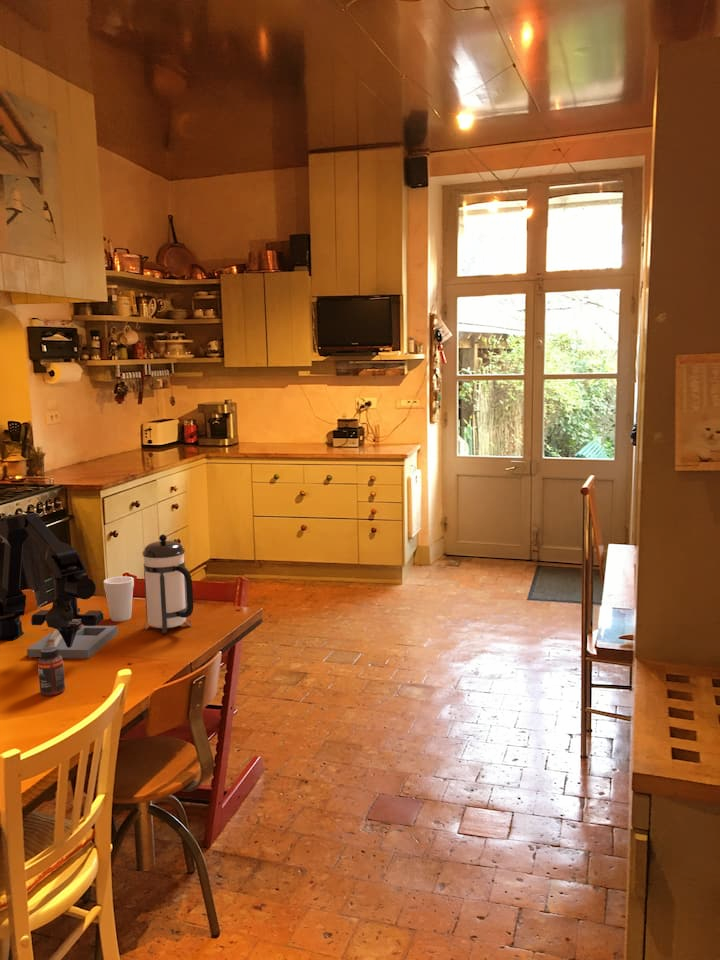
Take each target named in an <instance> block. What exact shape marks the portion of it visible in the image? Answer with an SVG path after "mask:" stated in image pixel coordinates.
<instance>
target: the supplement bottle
mask: <svg viewBox="0 0 720 960" xmlns="http://www.w3.org/2000/svg"><path fill="white" fill-rule="evenodd" d="M64 667H65V666H64V658H62V656H61V655H59V654H58V648H57V647H46V648H43V649H42V650H41V658H38V660H37V670H38V681H39V682H38V684H39V691H40V694H41V695H42V696H46V697H47V696H49V697H51V696H56V695H59V694H61V693H63V692H64V691H65V690H66V682H65V679H66V678H65V668H64Z"/></svg>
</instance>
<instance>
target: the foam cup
mask: <svg viewBox="0 0 720 960" xmlns="http://www.w3.org/2000/svg"><path fill="white" fill-rule="evenodd" d="M134 579H135V578H134V577H132V576H125V575H124V576H121V575H120V576H113V577H109V578H106V579H104V580H103V590H104V591H105V596H106V602H107V607H108V611H109V616H110V620H111V621H112V622H125V621H128V620H130V619H131V618H132V607H133V596H134V593H133V592H134V587H135V580H134Z"/></svg>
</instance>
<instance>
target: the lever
mask: <svg viewBox="0 0 720 960" xmlns="http://www.w3.org/2000/svg"><path fill="white" fill-rule="evenodd" d="M54 630H55V631H54ZM54 630H53V631H54V632H53V634H52V636H51V637H50V639H49V640H48V642H47V647H57V646H58V644H59V642H60V641H61V639H62V636H61V634H60V632H59V631H58V630H57V629H55V628H54Z"/></svg>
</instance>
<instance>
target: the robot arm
mask: <svg viewBox="0 0 720 960" xmlns="http://www.w3.org/2000/svg"><path fill="white" fill-rule="evenodd" d="M0 537H1V539H2V541H3V542H4V548H3V563H2V565H3V566H2V582H1V587H0V641H14V640H16V639H18V638H19V637H20V636H22V635H23V634H25V633H24V631H23V626H22V625H23V623H22V620H21V617H22V616H24V615H25V611H26V606H27V604H26V603H27V601H26V599H27V596H26V594H25V593H24V591H22V589H21V588H20V587H21V574H22V563H23V562H22V559H23V546H24V543H26V541H27V539H29V537H31V539H33V541H34V542H35V543H36V544H37V545H38V546H39V548H40V549H41V550H42V551H43V552H44V554H45V559H44V560H45V563H46V564H47V566H48V568H49V569H50V570H51V572H50V573H49V577H50V578H53V587H54V599H53V600H52V606H51V608H50V609H40V610H38V611H37V612H35V613H34V614H32V615H31V617H30V624H31V626H42V625H43V624H44V623H45V622H46V625H47V627H48V628H52V629H54V630H55V629H57V630H58V631H59V632H60V634H61V636H62V638H63V640H64V642H65V644H66V646H67V647H68V648H70V647H72V644H73V641H74V638H75V635H76V633H77V630H78V628H79V626H80V625H81V624H83V626H98V624H100V623H101V622H103V621H104V613H103V612H102V610H88V611H87V612H85V613H81V609H80V607H78V599H80V600H85V601H86V600H89V599H91V598H92V597H93V596H94V594H95V592H96V583H95V582H94V581H93V579H90V578H89V574H87V573H86V572H87V570H86V568H85V564H84V562H83V561H82V559H81V557H80V554H79V552H77V550H76V549H75V548H74V547H73V546H71V545H70V544H68V543H65V542H63V541H60V540H59V539H58V538H57V537H56V535H55V534H54V533H53V532H52V531H51V529H50V528H49V527H48V526H47V525H46V524H45V523H44V521H43V520H42V519H41V515H40V514H38V513H36V512H32V513H31V512H30V513H26V514H25V513H21V514H20V513H19V514H15V515H8V516H4V517H2V518H0Z"/></svg>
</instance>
